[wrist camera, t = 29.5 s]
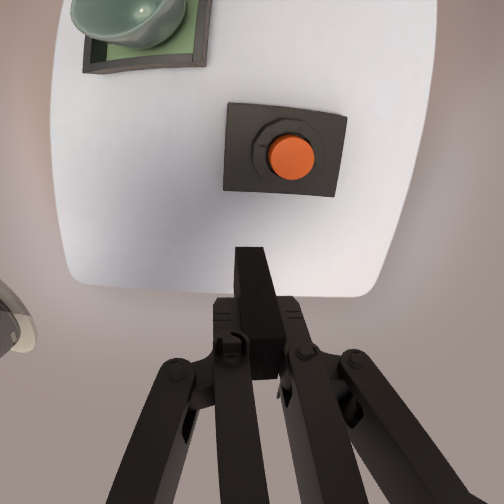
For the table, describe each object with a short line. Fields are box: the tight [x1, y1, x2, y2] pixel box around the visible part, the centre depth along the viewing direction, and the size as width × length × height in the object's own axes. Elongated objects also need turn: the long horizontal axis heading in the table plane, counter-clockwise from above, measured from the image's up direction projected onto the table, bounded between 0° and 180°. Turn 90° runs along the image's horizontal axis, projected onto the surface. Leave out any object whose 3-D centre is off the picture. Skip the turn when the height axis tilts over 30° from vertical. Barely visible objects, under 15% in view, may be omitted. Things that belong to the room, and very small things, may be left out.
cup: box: [70, 0, 186, 49], centre depth 15 cm, size 8×8×10 cm
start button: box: [268, 135, 314, 180], centre depth 26 cm, size 4×4×2 cm
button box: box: [223, 103, 347, 197], centre depth 28 cm, size 12×9×4 cm
